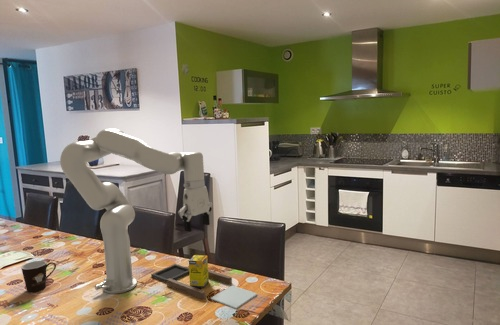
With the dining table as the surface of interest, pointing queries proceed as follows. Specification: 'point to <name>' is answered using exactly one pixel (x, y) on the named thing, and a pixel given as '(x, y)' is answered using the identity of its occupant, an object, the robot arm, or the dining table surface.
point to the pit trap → (171, 273)
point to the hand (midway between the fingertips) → (197, 227)
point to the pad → (234, 296)
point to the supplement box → (198, 271)
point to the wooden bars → (195, 291)
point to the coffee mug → (35, 275)
